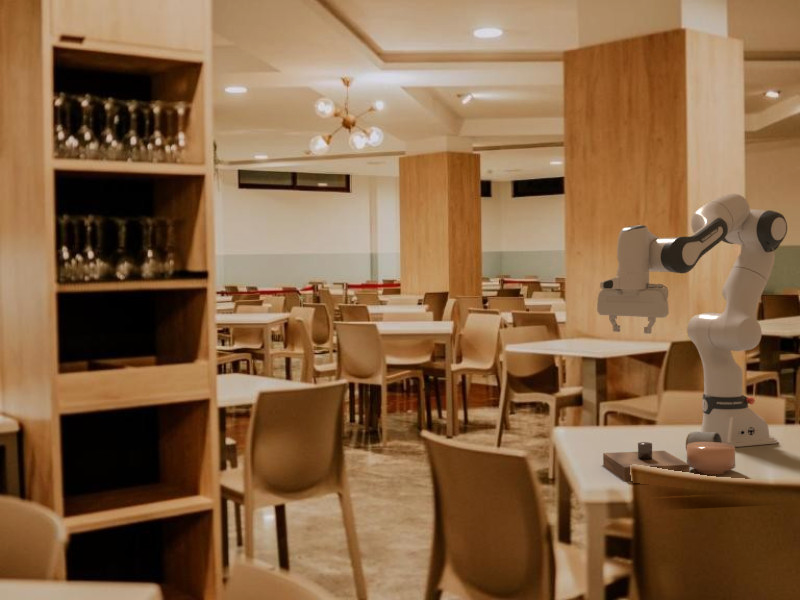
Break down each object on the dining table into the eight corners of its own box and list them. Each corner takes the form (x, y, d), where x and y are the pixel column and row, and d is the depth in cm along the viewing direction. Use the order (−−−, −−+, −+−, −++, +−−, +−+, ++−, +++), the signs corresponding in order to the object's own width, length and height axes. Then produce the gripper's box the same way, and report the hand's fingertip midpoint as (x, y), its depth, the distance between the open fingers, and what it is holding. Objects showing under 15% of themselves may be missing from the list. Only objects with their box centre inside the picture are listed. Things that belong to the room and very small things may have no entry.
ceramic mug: (694, 454, 266) (694, 427, 265) (722, 457, 261) (722, 430, 260) (679, 461, 258) (679, 434, 257) (708, 465, 252) (708, 437, 252)
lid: (664, 463, 252) (664, 436, 252) (689, 478, 236) (689, 449, 235) (603, 465, 251) (603, 438, 250) (624, 481, 234) (624, 451, 234)
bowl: (722, 466, 249) (722, 441, 249) (743, 477, 238) (743, 450, 237) (679, 468, 248) (679, 442, 248) (698, 479, 236) (698, 452, 236)
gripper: (672, 284, 256) (671, 334, 256) (605, 282, 269) (604, 330, 269) (663, 284, 251) (662, 335, 251) (594, 282, 264) (594, 331, 264)
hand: (631, 332), depth 260 cm, fingers open, 8 cm apart
